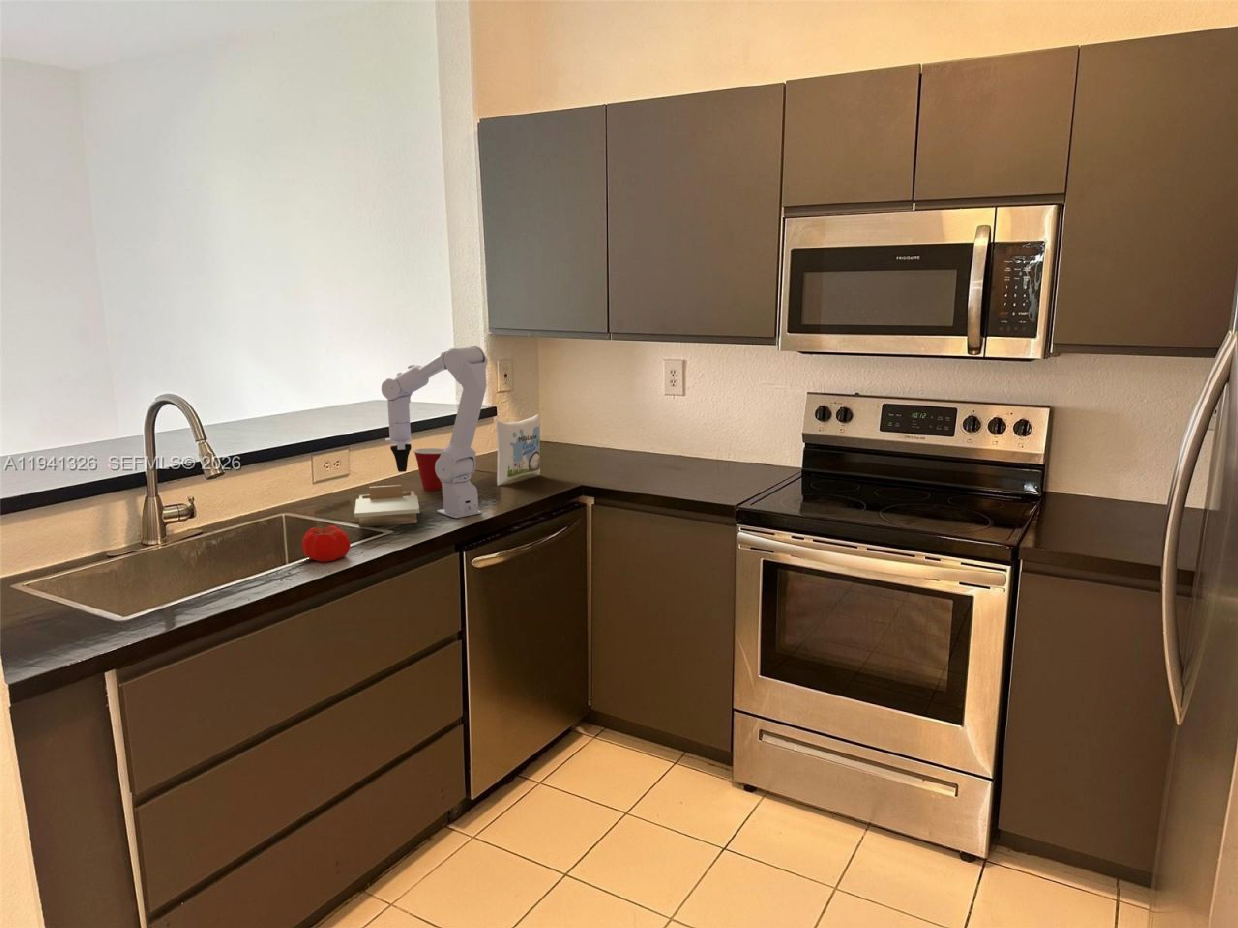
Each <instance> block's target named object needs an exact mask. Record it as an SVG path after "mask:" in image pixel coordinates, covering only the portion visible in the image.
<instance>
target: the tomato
mask: <svg viewBox="0 0 1238 928" xmlns="http://www.w3.org/2000/svg"><path fill="white" fill-rule="evenodd" d="M350 539H351V538H350V536H348V533H346V531H344V530H343V529H340V528H339V527H337V526H336V525H329V526H326V527H325V526H322V528H319V527H315V526H312V527H311V528H309V529H308V530H307V531H306V532H305V534H304V535H303V537H302V539H301V548H302V552H303V553H304V555H305V556H306V557H307V558H309V559H310V560H315V561H317V562H321V563H322V562H323V563H324V562H325V563H327V562H332V561H335V560H337V559H342V558H344V557H345V556H347V555H348V553H349V551H350V550H351V544H352V543H351V540H350Z"/></svg>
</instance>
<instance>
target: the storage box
mask: <svg viewBox="0 0 1238 928" xmlns="http://www.w3.org/2000/svg"><path fill="white" fill-rule="evenodd" d="M409 495H415V492H414V491H403V496H409ZM364 498H370V493H367V494H358V499H364ZM417 521H418V520H417V513H411V514H397V515H383V516H369V517H358V527H359V528H360V527H363V528H364V527H377V526H388V525H389V526H390V525H391V526H392V525H401V524H402V525H403V524H415V523H418V522H417Z"/></svg>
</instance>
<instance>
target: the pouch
mask: <svg viewBox="0 0 1238 928" xmlns="http://www.w3.org/2000/svg"><path fill="white" fill-rule="evenodd" d="M540 429H541V419H540V413H537V414H535V415H534V416H531V417H529V418H526V419H522V420H520V421H509V422H503V421H500V420H496V437H497V438H496V440H497V441H496V443H497V487H499V486H501V485H504V484H505V483H506V482H508V481H511V480H514V479H516V478H519V477H521V476H528V475H532V474H533V475H537V476H540V473H541V454H540V442H541V441H540V438H541V434H540V431H541V430H540Z"/></svg>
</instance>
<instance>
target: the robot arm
mask: <svg viewBox="0 0 1238 928" xmlns="http://www.w3.org/2000/svg"><path fill="white" fill-rule="evenodd" d="M488 362H489V360H488V357H487V356H486V354H485V352H484V350H483V349H482V348H481V347H480V346H477V345H472V346H467V347H457V348H456V347H451V348H449V349H447V350H444V351H442V352H441V353H440V354H439V355H437V356H436V357H435V358H433V359H431V360H430V361H428V362H427V363H426V364H424V365H423V366H421V365H415V364H413V365H408V367H407V370H405V371H403V372H398V373H397V374H396V376H395V378H393V377H391V378H390V377H388V378H385V380H384V381H383V382H382V385H381V392H382V395H383V397H384V398H385V399H386V401H387V402H386V403H387V417H388V418H387V419H388V433H389V437H387V438H384V441H385V442H386V443H391V444H393V445H390V446H389V448H390V451H391V452H392V454H393V457H394V459H395V464H396V469H397V472H398V473H403V472H407V469H408V464H409V463H408V462H409V456H410V452H411V451H412V444H411V442H412V441H413V437H412V427H411V413H410V412H411V411H410V404H411V401H412V400H411V397H412V395H413V393H414V392H415V391H418V390H420V389H422V388H423V387H425V386H427V385H428V383H429V380H430V378H431V377H433V376H435V375H437V374H439V373H441V372H444V371H445V370H446V371H448V372H449V373H450V375H451V376H452V377H453V378H454V379H455V380H456V381H457V383H459V385H461V387H462V392H461V397H460V400H459V404H458V408H457V413H456V417H455V420H454V425H453V429H452V433H451V437H450V441H449V444H448V445H447V446H445V448H443V449H444V450H443V451H442V453H441V456H440V458H439V459H438V460H437V462H436V465H435V471H436V474H437V476H438V477H439V478H440V481H441V482H442V485H443V488H442V500H443V501H442V503H443V509H437V511H436V512H437V513H439V514H441V515H445V516H448V517H450V518H454V519H459V518H464V517H470V516H475V515H479V514H482V511H480V510H479V499H478V497H479V496H478V490H477V489H478V488H477V487H476V486H475V485H474V484H473V483H472V482H471V479H472V474H473V473H474V472H475V470H476V455H477V454H476V452H475V450H474V449H473V447H472V444H473V441H474V440H473V439H474V436H475V433H476V429H477V425H478V420H479V417H480V415H481V414H480V413H481V411H482V410H481V409H482V405H483V401H484V397H485V394H486V391H487V374H486V373H487V371H486V369H487V365H488Z"/></svg>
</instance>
